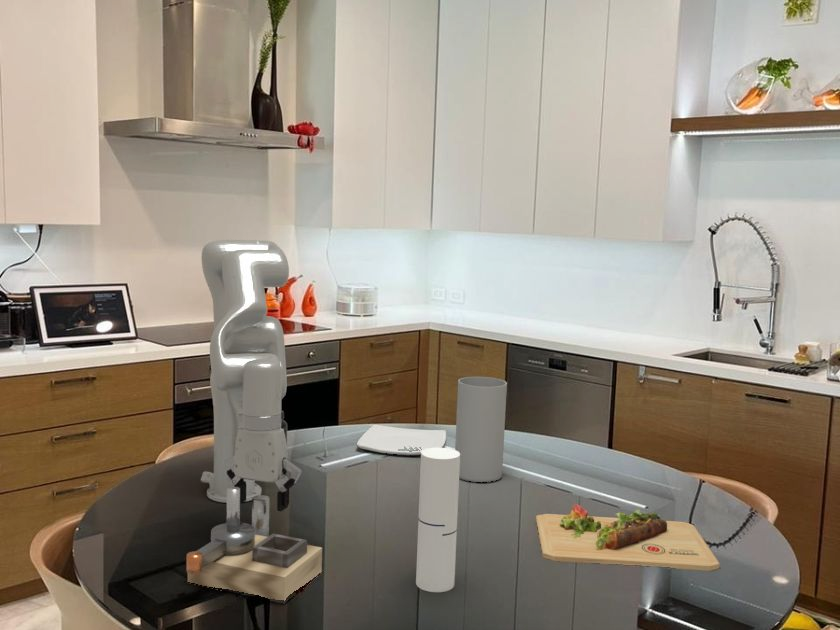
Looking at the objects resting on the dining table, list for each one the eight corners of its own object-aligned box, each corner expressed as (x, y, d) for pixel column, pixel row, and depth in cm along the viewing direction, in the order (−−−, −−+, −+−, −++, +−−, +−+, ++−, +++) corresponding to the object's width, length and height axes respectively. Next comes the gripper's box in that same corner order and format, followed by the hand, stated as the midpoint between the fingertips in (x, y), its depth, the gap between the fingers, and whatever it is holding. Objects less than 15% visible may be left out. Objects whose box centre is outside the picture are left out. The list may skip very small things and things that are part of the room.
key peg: (248, 547, 170) (248, 499, 169) (257, 541, 173) (257, 494, 172) (263, 550, 169) (263, 502, 168) (271, 544, 172) (272, 496, 171)
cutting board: (543, 563, 169) (545, 527, 168) (534, 520, 193) (536, 488, 192) (721, 574, 167) (724, 538, 166) (691, 529, 190) (693, 497, 189)
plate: (351, 454, 236) (351, 445, 236) (370, 431, 260) (371, 423, 259) (438, 462, 232) (438, 452, 232) (449, 438, 256) (450, 429, 256)
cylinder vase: (446, 470, 224) (450, 378, 220) (488, 466, 229) (492, 375, 225) (467, 485, 212) (471, 388, 209) (510, 481, 217) (515, 385, 214)
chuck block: (187, 582, 154) (187, 543, 153) (230, 553, 167) (231, 517, 166) (284, 604, 147) (285, 563, 146) (321, 572, 160) (322, 534, 159)
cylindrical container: (414, 575, 160) (419, 447, 157) (451, 575, 161) (457, 447, 158) (417, 592, 153) (422, 458, 150) (456, 592, 154) (462, 459, 151)
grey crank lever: (170, 569, 147) (170, 508, 145) (226, 534, 163) (227, 479, 161) (209, 578, 144) (209, 516, 143) (262, 541, 160) (263, 485, 159)
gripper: (213, 421, 167) (213, 505, 169) (291, 430, 161) (290, 518, 163) (235, 414, 174) (234, 494, 176) (309, 422, 168) (308, 506, 170)
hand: (261, 505), depth 169 cm, fingers open, 9 cm apart
